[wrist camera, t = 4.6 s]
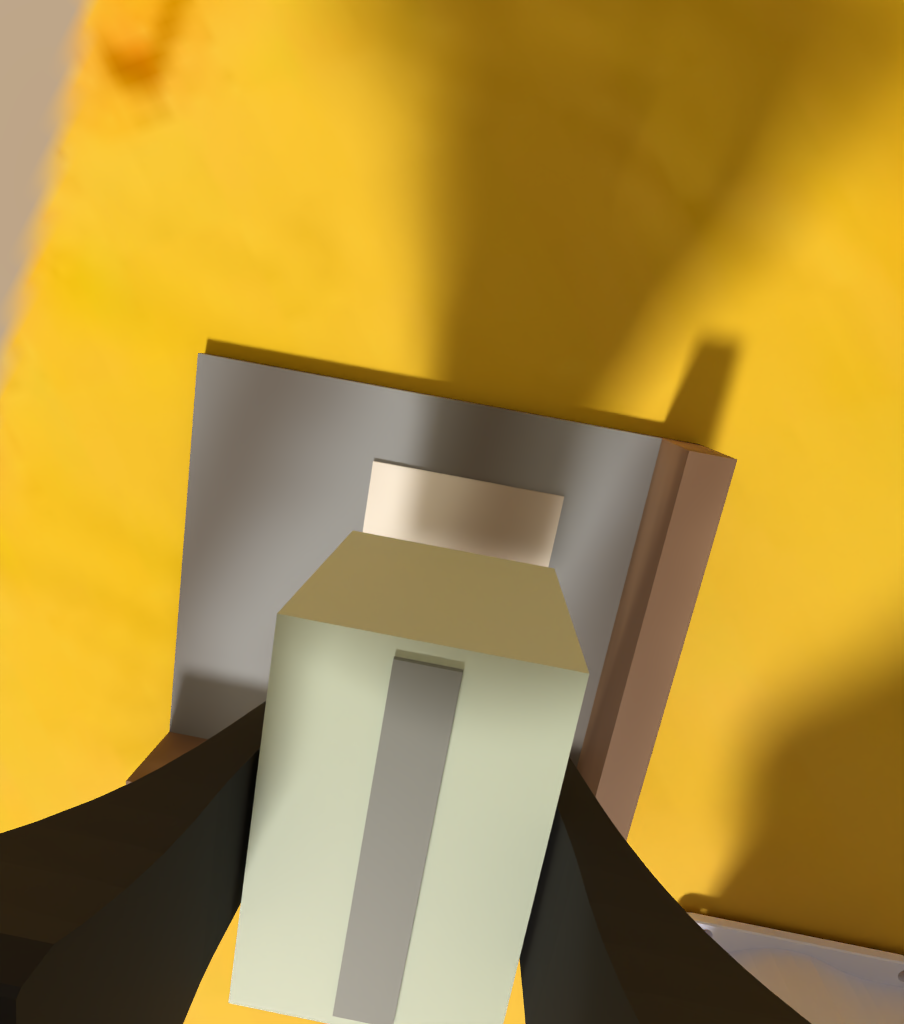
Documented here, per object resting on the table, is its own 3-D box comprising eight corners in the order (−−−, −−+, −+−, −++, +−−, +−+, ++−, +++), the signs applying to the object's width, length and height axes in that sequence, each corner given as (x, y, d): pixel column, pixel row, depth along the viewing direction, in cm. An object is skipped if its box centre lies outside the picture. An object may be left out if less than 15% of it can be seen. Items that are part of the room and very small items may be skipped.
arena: (698, 444, 18) (737, 459, 16) (590, 837, 22) (605, 910, 19) (204, 353, 19) (151, 351, 16) (172, 754, 22) (124, 814, 19)
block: (493, 839, 15) (494, 1064, 10) (312, 803, 15) (225, 1008, 10) (554, 568, 14) (590, 676, 9) (353, 530, 14) (274, 615, 9)
